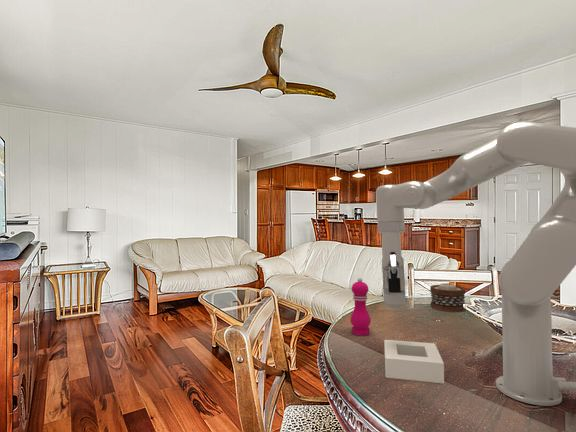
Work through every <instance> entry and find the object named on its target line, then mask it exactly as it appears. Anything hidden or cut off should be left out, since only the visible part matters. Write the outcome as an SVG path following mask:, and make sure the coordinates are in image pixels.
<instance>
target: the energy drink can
mask: <svg viewBox="0 0 576 432" xmlns="http://www.w3.org/2000/svg"><path fill="white" fill-rule="evenodd" d="M390 259H391V254H390ZM404 263H405V262H404V258H403V256H402V255H401V267H400V268H399V278H400V287H401V292H400V293H389V288H388V278H389V270H388V266H385V268H384V267H383V258H381V270H382V287H383V303H384V304H385V306H386V307H388V308H394V309H395V308H399V309H400V308H403V307H405V304H406V302H407V298H406V280H405V264H404ZM389 264H390V261H389ZM398 265H399V263H398ZM390 267H391V265H390ZM396 267H397V265H396ZM398 267H399V266H398Z"/></svg>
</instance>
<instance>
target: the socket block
mask: <svg viewBox="0 0 576 432" xmlns="http://www.w3.org/2000/svg"><path fill="white" fill-rule="evenodd" d="M383 342H384V343H383V344H384V347H383V348H384V368H385V369H384V372H385V373H384V374H385V378H387V379H393V380H394V379H396V380H403V381H404V380H406V381H413V382H414V381H416V382H424V383H436V384H443V385H444V384H445V363H444V361H443V358H442V356H441V355H440V352H439V350H438V347H437V345H436V343H434V342H420V341H408V340H393V339H383Z"/></svg>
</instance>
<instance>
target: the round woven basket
mask: <svg viewBox="0 0 576 432" xmlns="http://www.w3.org/2000/svg"><path fill="white" fill-rule="evenodd" d="M465 294H466V288H465V287H463V286H460V285H456V284H453V283H440V284H433V285H431V286H430V297H431V298H430V299H431V301H430V308H431V309H433V310H435V311H439V312H444V313H463V312H465V311H466V310H465V309H464V308H463V304H465V305H466V296H465Z"/></svg>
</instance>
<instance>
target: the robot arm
mask: <svg viewBox="0 0 576 432" xmlns="http://www.w3.org/2000/svg"><path fill="white" fill-rule="evenodd" d="M528 163H530V164H534V165H539V166H543V167H544V166H545V167H550V168H554V169H558V171H559V172H560V173H561V174H562V175H563V176H564V185H563V187H562V188H561V189H562V190H561V191H560V192H559V194H558V195H557V196H556V198H555V200H554V202H552V205H551V206H550V207H549V208H548V210H547V211H546V212H545V214H544V215H543V216H542V217H541V219H539V221H538V222H536V223H535V224H534V226H533V227H532V228H531V230H530V231H529V233H528V235H527V237H525V239H524V240H523V242H522V243H521V244H520V246H519V248H518V249H517V250H516V251H515V252H514V254H513V256H512V257H511V258H510V259H509V260H508V261H507V262H506V263H505V264H504V265H503V266H502V268H501V270H500V274H499V278H498V284H499V289H500V290H501V321H502V322H501V323H502V324H501V326H502V329H501V330H502V331H501V332H502V333H501V334H502V338H501V339H502V375H500V376H499V377H497V378H496V380H495V387H496V388H497V389H498V391H500V392H501V393H502V394H504V395H505V396H507V397H509V398H511V399H513V400H515V401H518V402H522V403H526V404H528V405H529V404H530V405H534V406H540V407H543V406H544V407H549V406H551V407H552V406H556V405H559V404H561V403H562V402H563V395H562V392H563V391H569V392H576V381H567V379H566V378H565V377H559V376H558V377H557V376H554V375H553V374H554V373H553V342H552V341H553V337H552V336H553V334H552V329H553V328H552V327H553V326H552V325H553V324H552V323H553V322H552V302H551V301H552V299H551V298H552V295H553V294H554V293H555V292H556V290H557V289H558V288H559V287H560V285H561V284H562V283H563V282H564V280H565V279H566V278H567V277H568V276H569V274H570V273H571V272H572V271H573V269H574V268H575V267H576V127H572V126H566V125H564V126H563V125H558V124H550V123H543V122H536V121H517V122H514V123H510V124H509V125H507V126H505V127H504V128H503V129H502V130H501V131H500V133H499V134H498V136H497V137H496V138H495V139H492V140H491V141H489V142H487V143H484V144H482V145H479V146H478V147H477V148H474V149H472V150H471V151H468V152H466V153H464V154H461V156H459V157H458V158H457V159H456V160H454V162H453V163H452V165H450V167H449V168H447V169H446V170H445V171H443V172H442V173H440V174H438V175H436V176H434V177H432V178H430V179H427V180H426V181H424V182H422V181H418V180H412V181H406V182H402V183H399V184H385V185H380V186H378V187H377V188H376V190H375V202H376V204H375V205H376V221H377V233H378V234H381V253H382V254H381V255H382V258H383V267H384V268H385V266H388V270H389V278H388V288H389V293H400V292H401V287H400V278H399V268H400V267H401V256H402V235H401V233H406V232H405V231H406V228H405V226H406V225H405V209H413V210H415V209H416V210H417V209H419V210H426V209H429V208H432V207H434V206H437V205H438V204H441V203H443V202H445V201H447V200H449V199H451V198H454V197H456V196H458V195H460V194H462V193H464V192H466V191H469V190H471V189H473V188H474V187H477V186H479V185H481V184H482V183H485V182H488V181H490V180H492V179H494V178H496V177H498V176H501V175H504V174H505V173H508V172H511V171H513V170H515V169H517V168H519V167H522V166H524V165H527V164H528ZM390 254H391V259H390ZM382 258H381V259H382ZM389 261H390V264H389ZM398 263H399V265H398ZM390 265H391V267H390ZM396 265H397V267H396ZM398 266H399V267H398Z"/></svg>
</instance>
